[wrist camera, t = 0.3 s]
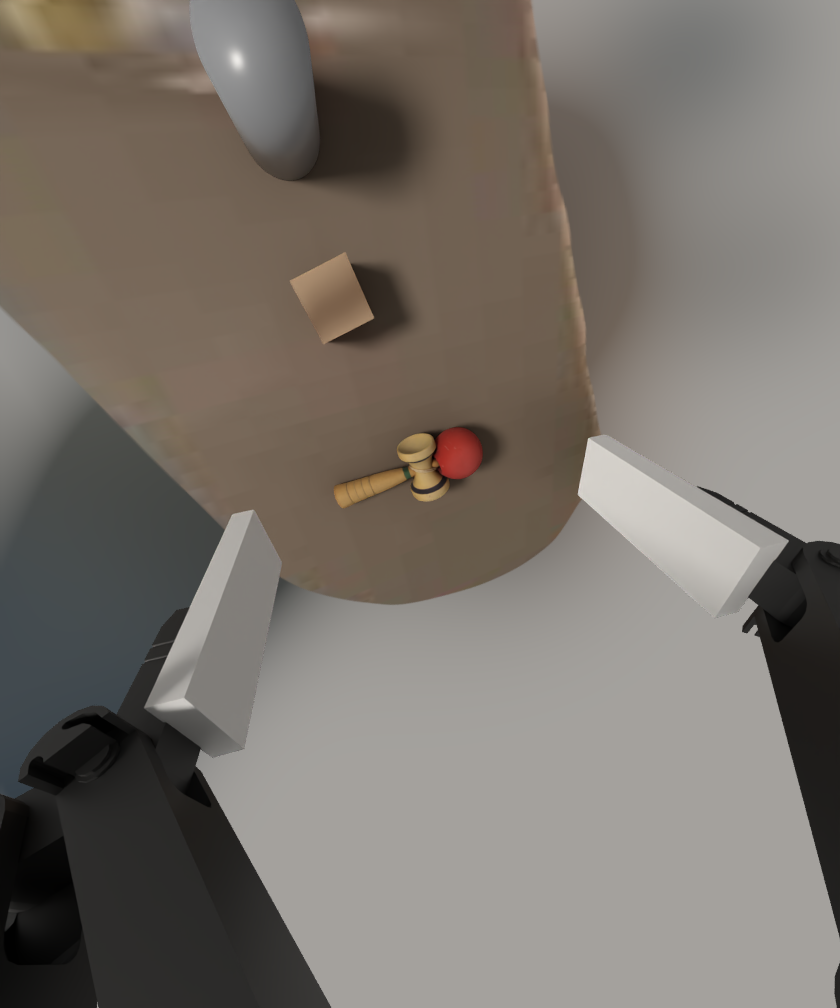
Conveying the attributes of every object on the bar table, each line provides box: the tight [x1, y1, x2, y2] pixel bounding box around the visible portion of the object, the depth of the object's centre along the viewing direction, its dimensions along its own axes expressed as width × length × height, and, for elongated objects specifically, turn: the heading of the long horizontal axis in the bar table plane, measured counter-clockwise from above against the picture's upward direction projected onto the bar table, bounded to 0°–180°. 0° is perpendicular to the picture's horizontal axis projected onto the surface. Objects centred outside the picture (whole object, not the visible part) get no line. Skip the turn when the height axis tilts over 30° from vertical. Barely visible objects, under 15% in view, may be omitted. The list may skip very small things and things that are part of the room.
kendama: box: [334, 427, 483, 508], centre depth 39 cm, size 8×6×18 cm
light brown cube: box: [290, 253, 374, 344], centre depth 30 cm, size 5×5×5 cm
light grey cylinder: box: [190, 0, 320, 181], centre depth 22 cm, size 6×6×9 cm
